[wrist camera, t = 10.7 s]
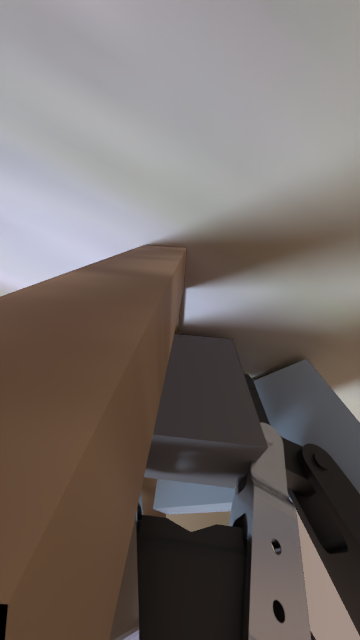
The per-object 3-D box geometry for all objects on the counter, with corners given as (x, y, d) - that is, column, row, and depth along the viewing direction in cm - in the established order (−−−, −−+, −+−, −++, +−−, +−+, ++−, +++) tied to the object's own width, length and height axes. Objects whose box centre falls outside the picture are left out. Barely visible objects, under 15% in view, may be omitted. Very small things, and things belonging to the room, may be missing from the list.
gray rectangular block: (159, 380, 13) (138, 476, 8) (158, 332, 11) (126, 431, 6) (218, 385, 13) (234, 488, 8) (232, 339, 11) (268, 447, 5)
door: (167, 417, 17) (152, 508, 12) (306, 358, 11) (413, 487, 6) (184, 428, 18) (178, 518, 12) (321, 379, 12) (426, 508, 7)
